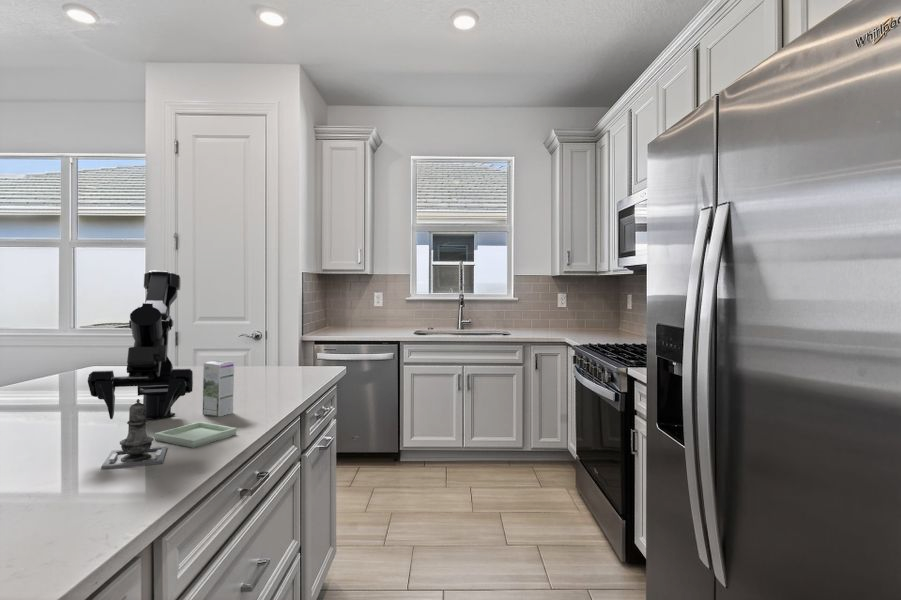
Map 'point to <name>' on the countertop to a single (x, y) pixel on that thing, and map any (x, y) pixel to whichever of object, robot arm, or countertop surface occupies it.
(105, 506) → the countertop surface
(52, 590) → the countertop surface
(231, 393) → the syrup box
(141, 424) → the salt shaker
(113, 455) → the socket
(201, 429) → the tray
